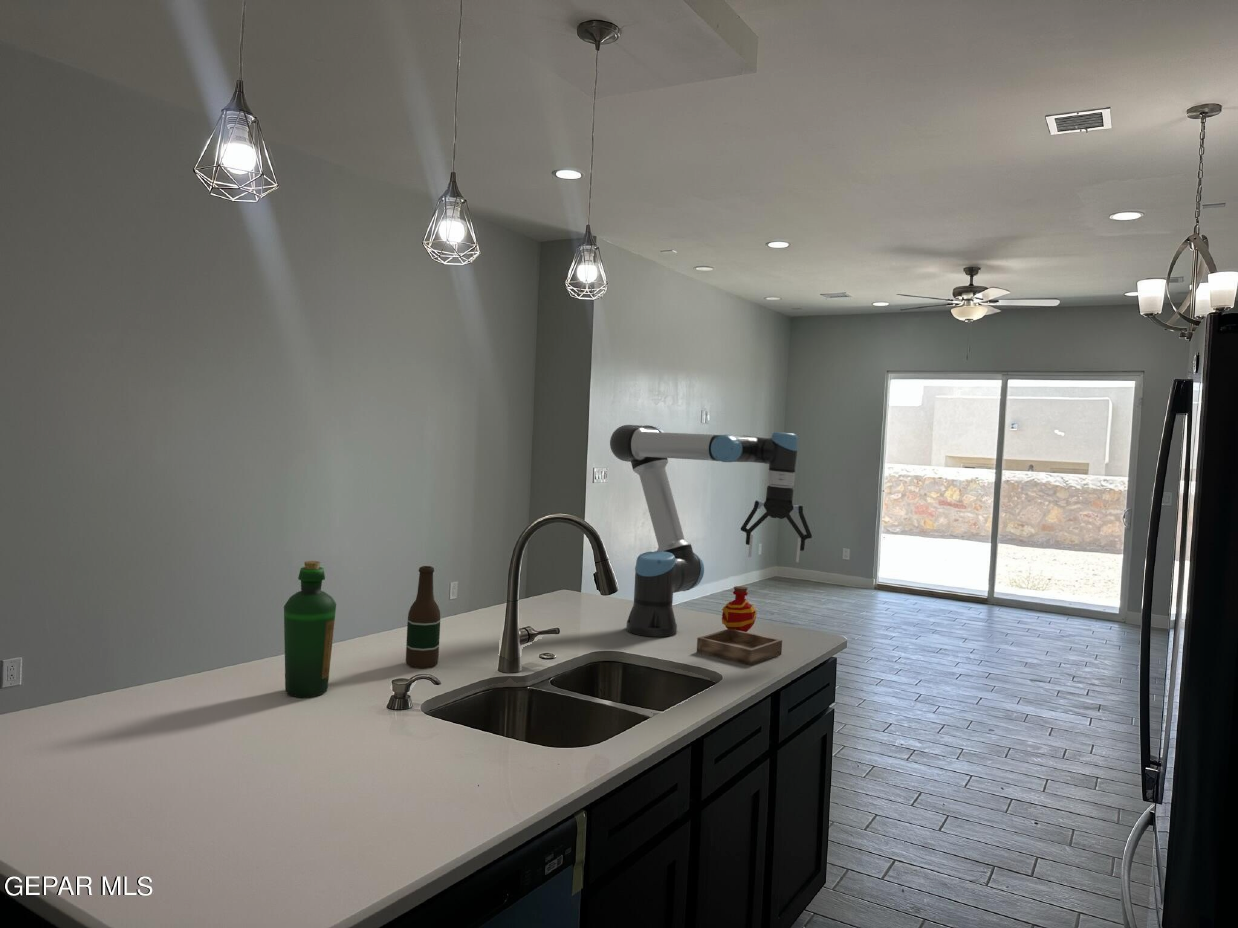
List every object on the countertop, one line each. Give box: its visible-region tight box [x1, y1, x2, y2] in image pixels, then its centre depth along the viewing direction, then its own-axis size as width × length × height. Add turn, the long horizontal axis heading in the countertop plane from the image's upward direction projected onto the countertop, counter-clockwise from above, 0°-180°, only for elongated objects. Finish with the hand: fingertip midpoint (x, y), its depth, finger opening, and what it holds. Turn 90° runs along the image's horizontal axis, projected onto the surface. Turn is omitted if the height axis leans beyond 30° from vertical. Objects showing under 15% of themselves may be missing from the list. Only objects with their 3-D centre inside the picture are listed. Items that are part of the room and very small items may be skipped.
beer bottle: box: [405, 565, 441, 670], centre depth 208 cm, size 8×8×24 cm
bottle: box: [283, 560, 337, 698], centre depth 183 cm, size 11×11×28 cm
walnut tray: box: [696, 628, 783, 666], centre depth 237 cm, size 17×17×4 cm
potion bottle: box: [721, 585, 757, 633], centre depth 256 cm, size 10×10×15 cm
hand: (773, 559), depth 248 cm, fingers open, 13 cm apart
